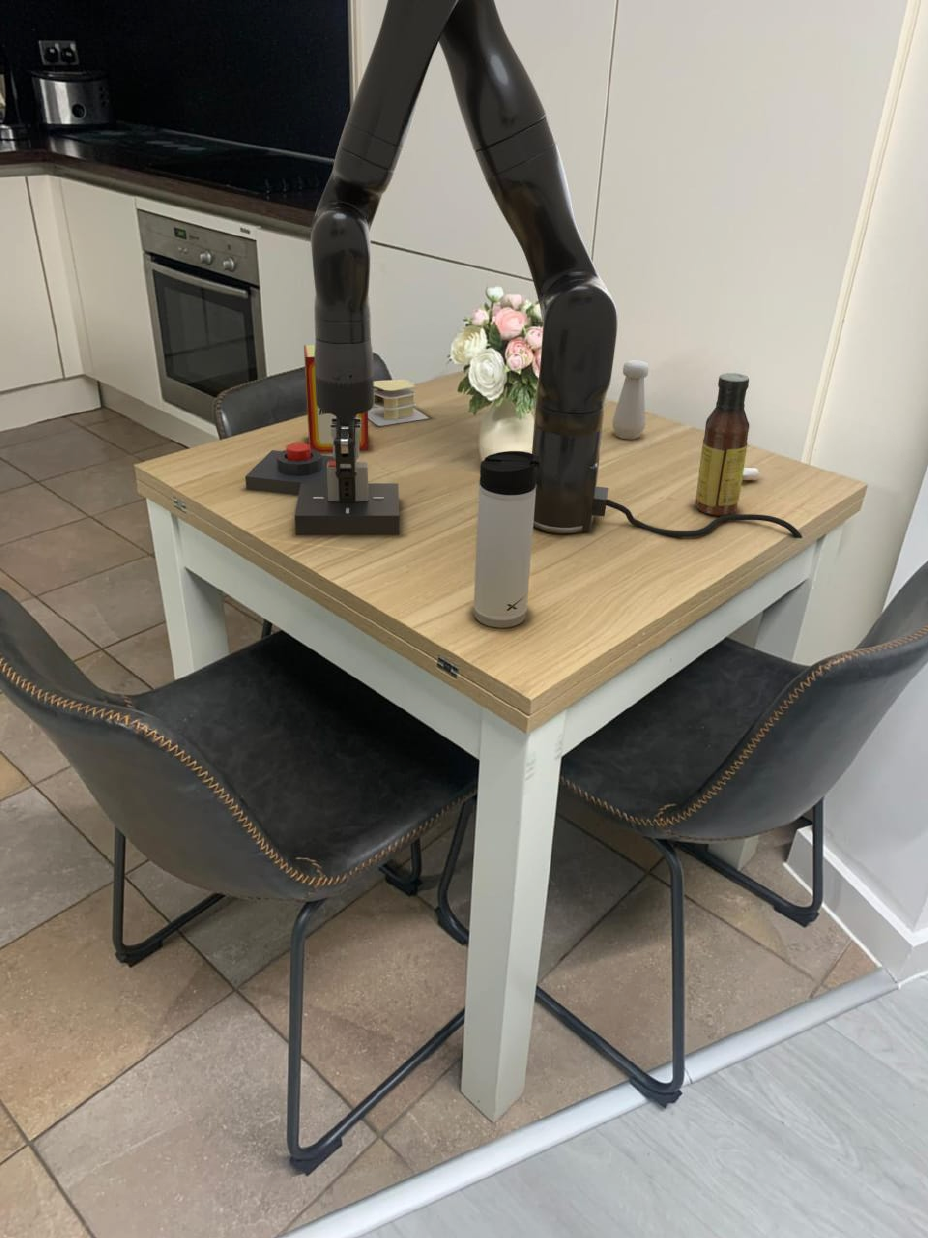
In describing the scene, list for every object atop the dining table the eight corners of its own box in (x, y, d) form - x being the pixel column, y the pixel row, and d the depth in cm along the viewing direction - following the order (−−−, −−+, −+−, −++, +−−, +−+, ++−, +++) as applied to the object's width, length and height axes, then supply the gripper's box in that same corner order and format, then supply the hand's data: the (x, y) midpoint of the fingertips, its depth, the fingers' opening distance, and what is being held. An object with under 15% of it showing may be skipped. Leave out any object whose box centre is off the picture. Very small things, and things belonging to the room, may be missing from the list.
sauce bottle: (737, 503, 143) (763, 372, 132) (735, 520, 137) (762, 385, 127) (693, 497, 144) (715, 367, 134) (690, 514, 139) (712, 380, 128)
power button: (314, 454, 144) (313, 443, 143) (306, 463, 141) (306, 452, 140) (291, 452, 144) (291, 441, 143) (283, 460, 141) (282, 449, 140)
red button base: (352, 471, 148) (351, 447, 146) (330, 499, 139) (329, 473, 137) (272, 462, 150) (271, 438, 148) (246, 489, 141) (243, 464, 139)
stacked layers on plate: (406, 403, 177) (406, 374, 174) (429, 418, 170) (429, 388, 168) (357, 410, 173) (356, 380, 170) (378, 426, 166) (378, 395, 163)
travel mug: (524, 632, 109) (537, 469, 99) (468, 624, 110) (475, 462, 100) (532, 605, 114) (545, 448, 104) (478, 598, 115) (486, 442, 105)
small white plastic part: (765, 486, 149) (769, 468, 147) (727, 485, 148) (730, 466, 147) (759, 477, 152) (763, 459, 150) (722, 476, 152) (725, 458, 150)
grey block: (368, 495, 133) (367, 460, 130) (368, 501, 131) (367, 465, 129) (328, 495, 133) (327, 460, 130) (328, 501, 131) (326, 465, 128)
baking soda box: (310, 452, 154) (305, 354, 146) (308, 438, 160) (303, 342, 151) (368, 450, 156) (366, 353, 148) (365, 436, 161) (363, 342, 153)
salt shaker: (605, 430, 168) (613, 357, 161) (634, 428, 169) (644, 355, 163) (619, 442, 163) (628, 367, 156) (649, 439, 165) (660, 365, 158)
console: (398, 502, 139) (398, 482, 137) (399, 535, 130) (399, 514, 128) (301, 502, 138) (300, 481, 136) (295, 535, 128) (294, 514, 127)
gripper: (373, 389, 117) (375, 515, 126) (374, 356, 129) (375, 473, 138) (311, 389, 116) (317, 515, 125) (318, 355, 129) (323, 473, 137)
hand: (348, 492), depth 132 cm, fingers open, 5 cm apart
